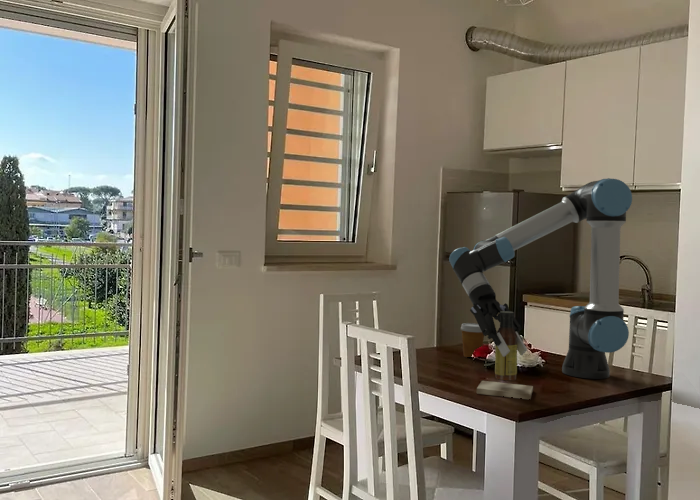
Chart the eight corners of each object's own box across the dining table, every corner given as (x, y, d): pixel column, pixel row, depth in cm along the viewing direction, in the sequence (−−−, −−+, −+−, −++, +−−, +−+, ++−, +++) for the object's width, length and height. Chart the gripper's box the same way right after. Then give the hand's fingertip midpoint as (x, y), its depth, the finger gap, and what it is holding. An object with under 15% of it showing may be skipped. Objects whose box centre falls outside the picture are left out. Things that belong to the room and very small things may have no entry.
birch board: (532, 391, 197) (533, 386, 197) (530, 399, 187) (530, 394, 187) (481, 385, 202) (482, 380, 202) (476, 393, 192) (476, 388, 192)
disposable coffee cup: (487, 359, 244) (488, 327, 244) (461, 358, 244) (462, 326, 244) (482, 354, 254) (483, 323, 253) (457, 353, 254) (458, 322, 254)
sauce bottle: (517, 378, 196) (521, 311, 196) (515, 382, 191) (519, 313, 190) (494, 376, 199) (498, 309, 198) (492, 380, 193) (496, 311, 192)
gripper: (496, 297, 212) (531, 358, 198) (449, 299, 202) (483, 362, 189) (508, 282, 207) (546, 343, 194) (461, 283, 197) (497, 347, 184)
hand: (515, 353), depth 191 cm, fingers closed on sauce bottle, 6 cm apart
